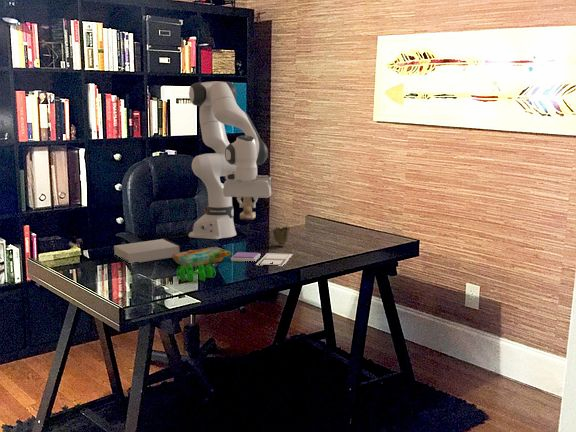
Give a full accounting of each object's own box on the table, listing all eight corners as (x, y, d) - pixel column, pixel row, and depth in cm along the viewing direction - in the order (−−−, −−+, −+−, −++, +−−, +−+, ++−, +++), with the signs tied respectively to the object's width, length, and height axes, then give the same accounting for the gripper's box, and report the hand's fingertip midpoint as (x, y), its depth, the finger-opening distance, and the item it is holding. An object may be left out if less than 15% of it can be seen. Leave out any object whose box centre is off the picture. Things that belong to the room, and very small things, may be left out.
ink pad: (230, 260, 262) (230, 256, 262) (237, 255, 271) (236, 251, 270) (255, 261, 260) (254, 257, 260) (260, 256, 269) (260, 252, 268)
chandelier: (223, 279, 237) (223, 260, 236) (185, 286, 229) (184, 267, 228) (206, 270, 250) (205, 252, 248) (169, 276, 242) (168, 258, 241)
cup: (290, 244, 290) (290, 226, 288) (289, 248, 282) (288, 229, 281) (273, 244, 290) (273, 226, 289) (271, 247, 283) (271, 229, 282)
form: (255, 265, 255) (255, 264, 255) (266, 253, 273) (266, 252, 273) (283, 266, 253) (283, 265, 253) (292, 254, 271) (292, 253, 271)
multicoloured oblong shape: (172, 252, 260) (215, 244, 271) (172, 263, 260) (216, 255, 272) (186, 257, 250) (230, 249, 262) (186, 269, 251) (231, 261, 263)
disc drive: (181, 257, 272) (181, 245, 271) (129, 265, 260) (128, 253, 259) (164, 249, 286) (164, 238, 285) (114, 256, 274) (113, 245, 273)
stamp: (240, 219, 275) (239, 195, 273) (242, 217, 280) (242, 193, 278) (252, 219, 274) (252, 195, 272) (255, 217, 278) (255, 193, 276)
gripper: (272, 174, 274) (273, 206, 277) (225, 173, 278) (226, 205, 281) (269, 176, 268) (269, 209, 271) (221, 175, 272) (222, 208, 275)
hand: (247, 207), depth 276 cm, fingers closed on stamp, 4 cm apart
